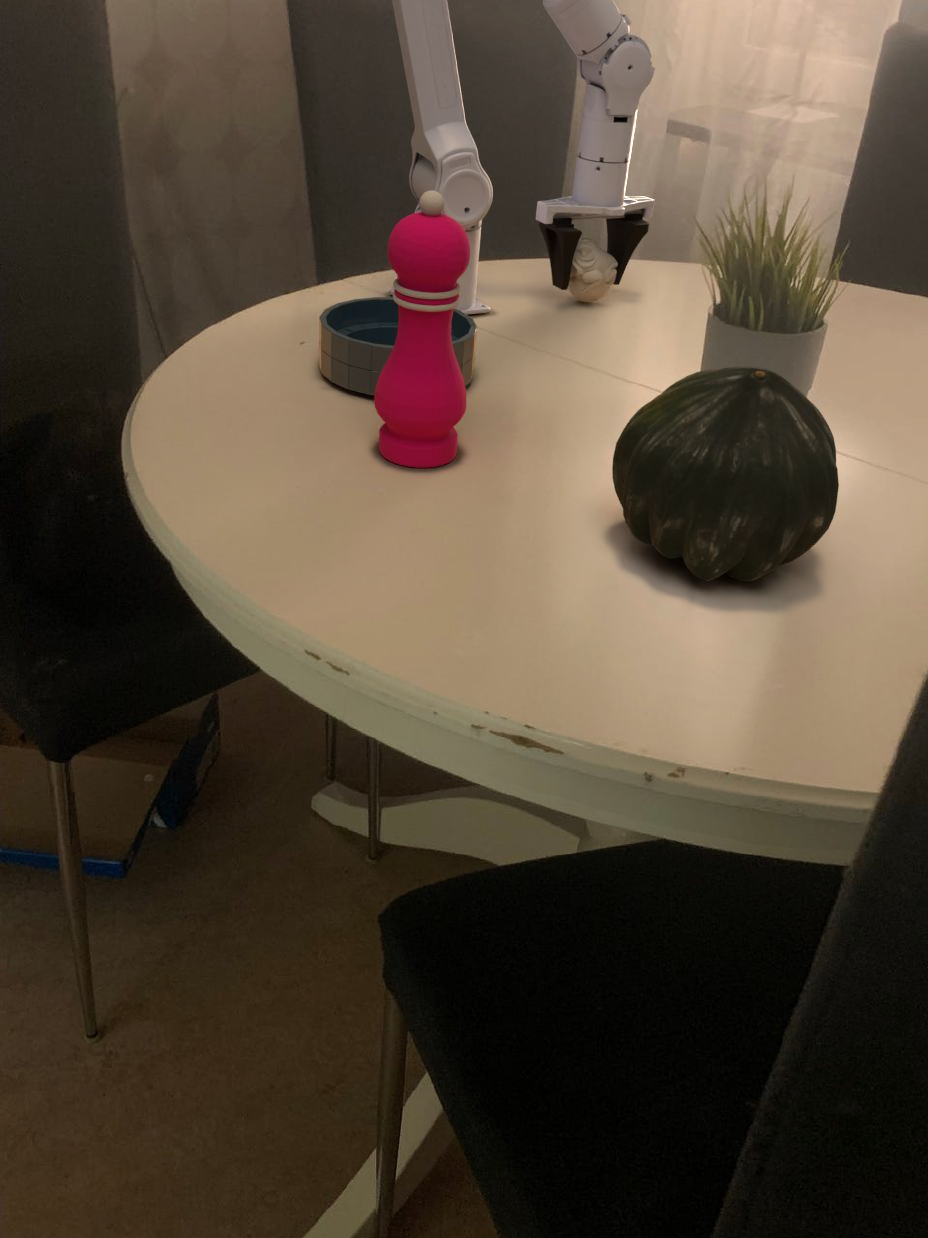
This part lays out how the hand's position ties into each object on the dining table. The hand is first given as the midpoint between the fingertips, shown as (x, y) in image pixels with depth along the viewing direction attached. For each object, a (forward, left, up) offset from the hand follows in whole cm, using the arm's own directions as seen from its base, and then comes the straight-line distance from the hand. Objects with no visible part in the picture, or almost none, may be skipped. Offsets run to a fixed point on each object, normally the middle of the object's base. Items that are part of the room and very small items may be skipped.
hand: (585, 284), depth 123 cm
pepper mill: (+30, -37, -2) cm, 48 cm away
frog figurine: (0, 0, -2) cm, 2 cm away
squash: (+52, -25, -2) cm, 58 cm away
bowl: (+14, -31, -2) cm, 34 cm away
